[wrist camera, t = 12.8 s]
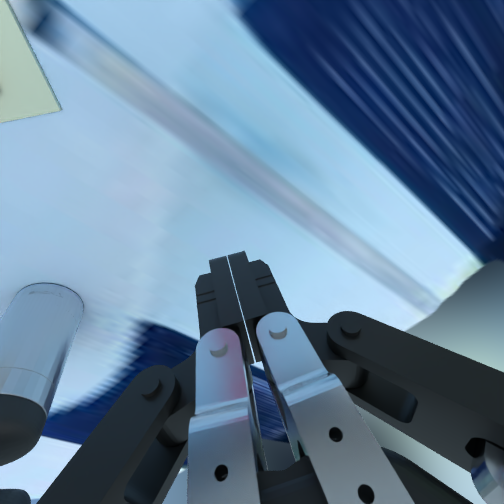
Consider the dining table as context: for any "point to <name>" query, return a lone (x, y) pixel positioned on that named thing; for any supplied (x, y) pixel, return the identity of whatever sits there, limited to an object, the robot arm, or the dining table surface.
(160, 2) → the dining table surface
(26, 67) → the mat
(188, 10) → the dining table surface
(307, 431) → the robot arm
